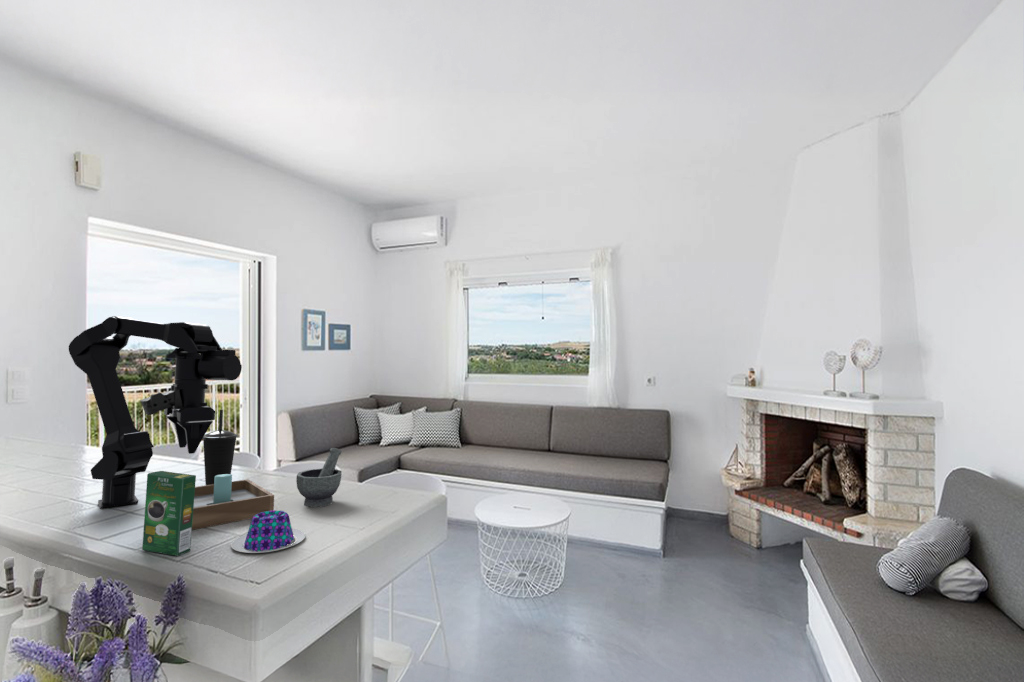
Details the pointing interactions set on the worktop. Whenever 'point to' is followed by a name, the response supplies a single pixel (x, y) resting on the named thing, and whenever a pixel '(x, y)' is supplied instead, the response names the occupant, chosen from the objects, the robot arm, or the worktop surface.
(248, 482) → the insert box
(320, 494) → the mortar and pestle
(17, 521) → the worktop surface
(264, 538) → the patterned hat
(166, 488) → the coffee box
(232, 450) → the drinking cup
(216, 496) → the peg
